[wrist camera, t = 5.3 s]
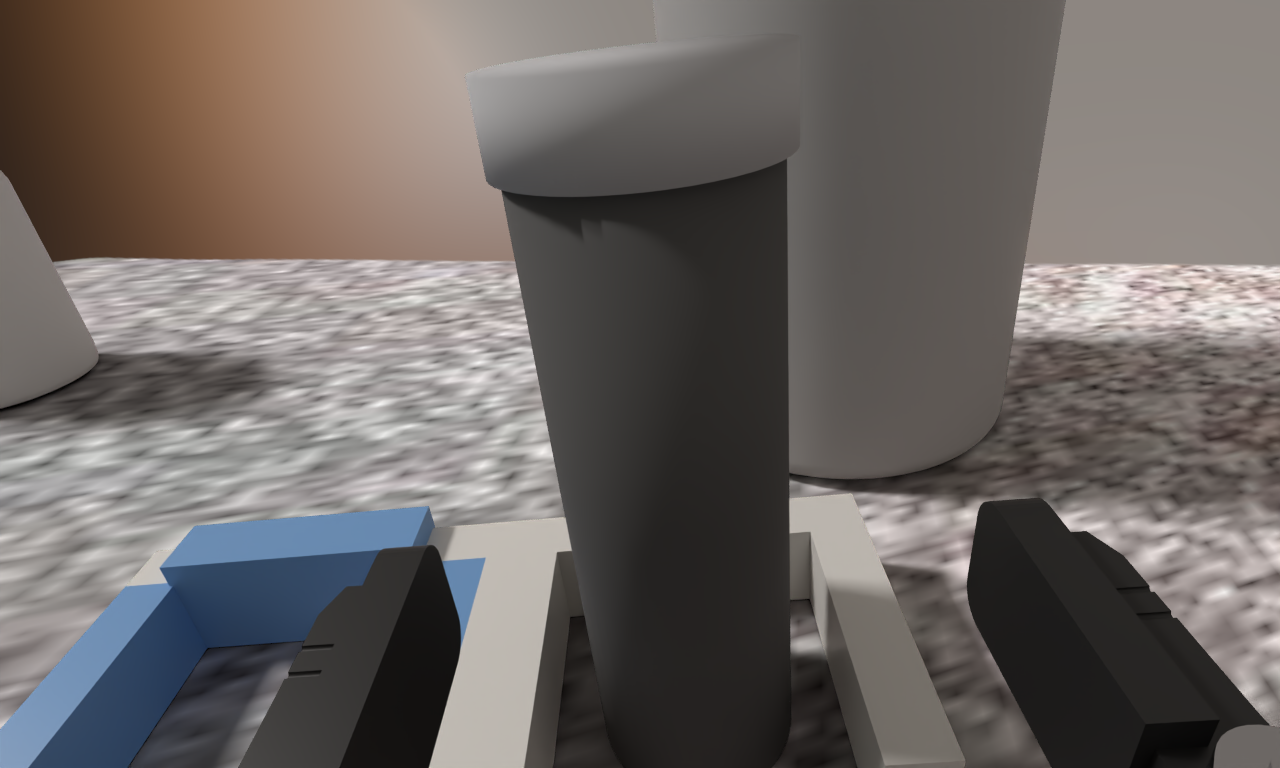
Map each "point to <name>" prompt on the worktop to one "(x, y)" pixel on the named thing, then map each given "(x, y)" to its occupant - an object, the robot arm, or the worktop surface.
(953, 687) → the worktop surface
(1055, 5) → the cylinder vase
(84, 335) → the pill bottle
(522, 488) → the worktop surface
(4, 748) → the blue grey comb bracket
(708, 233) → the grey capped cylinder
